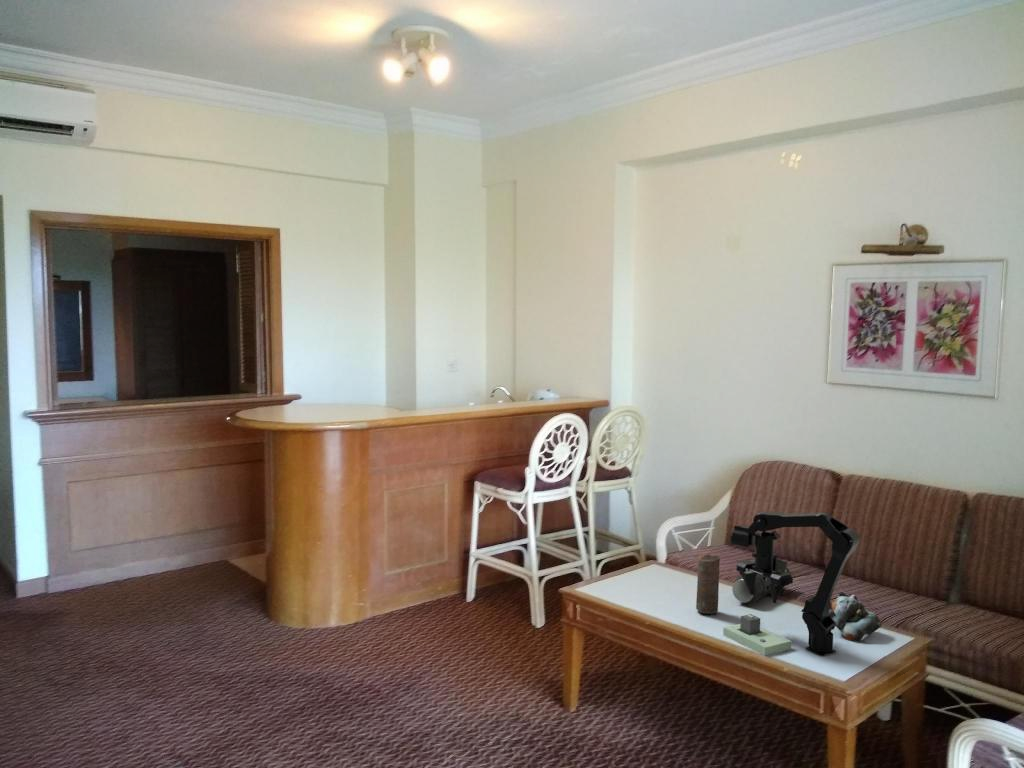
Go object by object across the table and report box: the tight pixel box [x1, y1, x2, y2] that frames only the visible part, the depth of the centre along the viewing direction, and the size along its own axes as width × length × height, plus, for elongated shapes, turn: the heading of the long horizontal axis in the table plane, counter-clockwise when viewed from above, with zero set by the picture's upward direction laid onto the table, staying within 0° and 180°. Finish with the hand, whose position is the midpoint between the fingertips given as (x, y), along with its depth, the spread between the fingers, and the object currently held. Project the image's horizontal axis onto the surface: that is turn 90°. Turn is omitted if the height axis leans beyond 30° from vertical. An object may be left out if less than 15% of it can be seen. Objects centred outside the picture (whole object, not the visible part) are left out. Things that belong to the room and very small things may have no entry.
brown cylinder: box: [695, 553, 721, 615], centre depth 276 cm, size 8×7×20 cm
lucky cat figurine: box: [829, 592, 883, 643], centre depth 259 cm, size 15×12×14 cm
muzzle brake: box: [731, 567, 791, 604], centre depth 293 cm, size 10×28×10 cm, turn 135°
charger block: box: [740, 613, 761, 636], centre depth 253 cm, size 4×4×7 cm
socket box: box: [722, 623, 793, 656], centre depth 251 cm, size 18×11×3 cm, turn 27°
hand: (763, 599), depth 256 cm, fingers open, 9 cm apart
